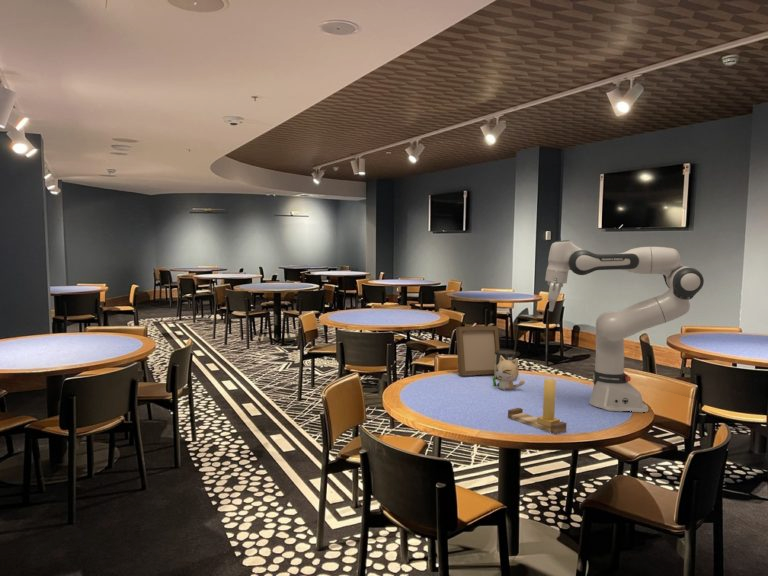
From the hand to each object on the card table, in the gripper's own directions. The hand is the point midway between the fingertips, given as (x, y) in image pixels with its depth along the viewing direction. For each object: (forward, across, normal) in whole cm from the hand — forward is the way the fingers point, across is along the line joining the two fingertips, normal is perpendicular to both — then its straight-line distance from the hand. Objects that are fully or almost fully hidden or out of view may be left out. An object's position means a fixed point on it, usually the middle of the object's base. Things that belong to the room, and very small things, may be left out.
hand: (551, 309), depth 230 cm
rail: (+39, -37, -2) cm, 54 cm away
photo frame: (+44, +37, +34) cm, 67 cm away
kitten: (+41, +11, +15) cm, 46 cm away
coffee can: (+42, +29, +18) cm, 54 cm away
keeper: (+37, -40, -6) cm, 55 cm away
